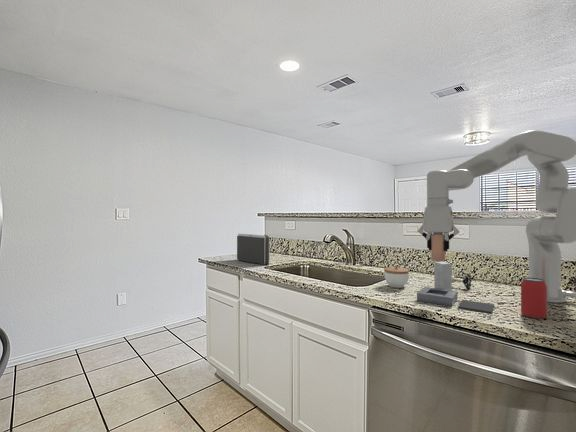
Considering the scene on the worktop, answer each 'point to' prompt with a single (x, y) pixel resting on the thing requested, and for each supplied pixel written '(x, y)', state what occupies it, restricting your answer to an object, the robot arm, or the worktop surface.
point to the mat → (476, 306)
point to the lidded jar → (396, 276)
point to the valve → (465, 281)
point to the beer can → (534, 298)
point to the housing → (437, 296)
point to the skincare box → (443, 275)
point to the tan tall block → (437, 247)
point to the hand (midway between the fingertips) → (438, 250)
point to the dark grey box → (253, 248)
